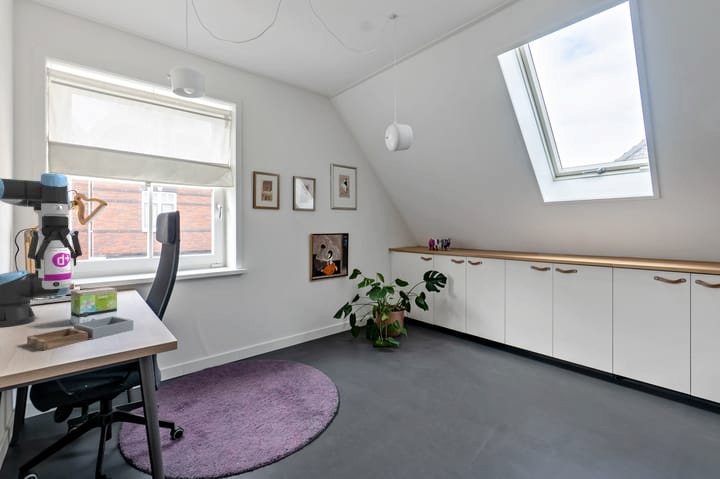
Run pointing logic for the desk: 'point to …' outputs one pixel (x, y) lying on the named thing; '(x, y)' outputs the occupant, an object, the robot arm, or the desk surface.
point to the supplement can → (56, 268)
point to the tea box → (93, 304)
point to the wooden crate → (57, 338)
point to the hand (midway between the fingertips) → (56, 276)
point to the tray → (105, 326)
